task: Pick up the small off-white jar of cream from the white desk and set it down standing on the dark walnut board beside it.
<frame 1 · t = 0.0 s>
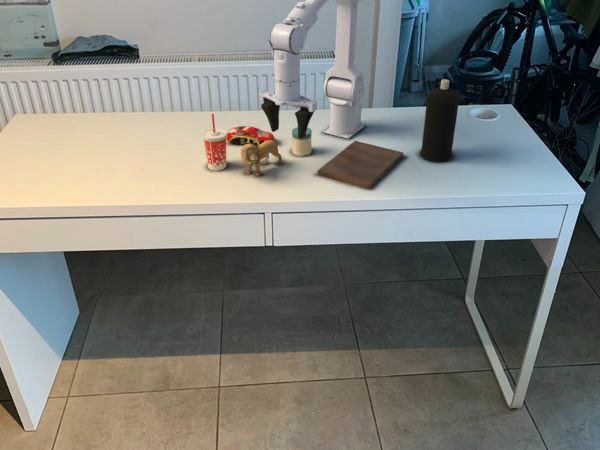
hand: (288, 133, 147), 10 cm above the table, tool pointing down, fingers open, 7 cm apart
aerosol can: (435, 156, 160), on the table
walnut board: (361, 165, 155), on the table
lion figurine: (262, 170, 153), on the table
race car: (250, 142, 167), on the table
beverage cup: (217, 166, 155), on the table
cream jar: (301, 151, 162), on the table
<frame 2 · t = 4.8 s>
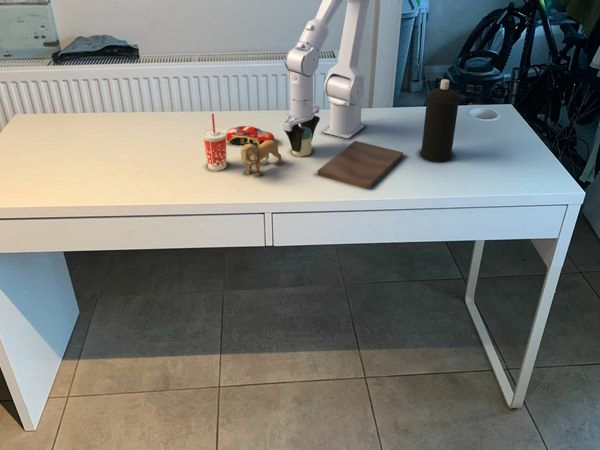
hand: (301, 146, 161), 1 cm above the table, tool pointing down, fingers closed on cream jar, 5 cm apart
cream jar: (301, 151, 162), on the table, touching gripper
everything else where it was.
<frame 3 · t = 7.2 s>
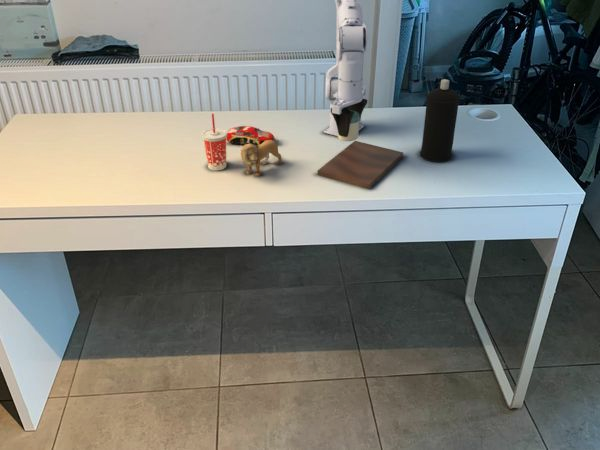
hand: (348, 131, 152), 8 cm above the table, tool pointing down, fingers closed on cream jar, 5 cm apart
cream jar: (347, 136, 153), point 7 cm above the table, touching gripper
everything else where it was.
when the fingers open (3 cm above the table, at t = 10.1 s): cream jar stays where it is, resting on walnut board.
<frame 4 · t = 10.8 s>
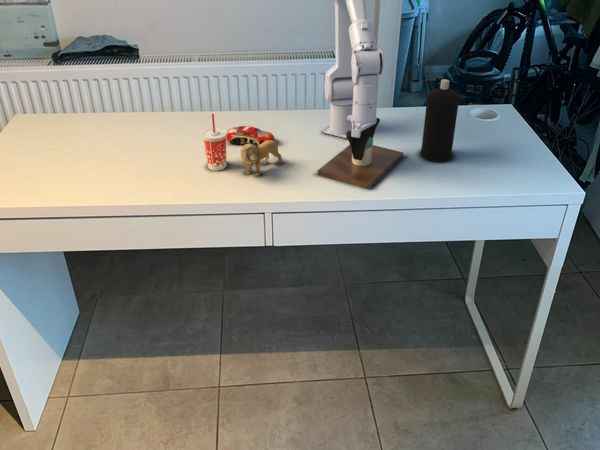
hand: (362, 152, 153), 4 cm above the table, tool pointing down, fingers open, 7 cm apart
cream jar: (361, 161, 154), point 1 cm above the table, touching walnut board
everything else where it was.
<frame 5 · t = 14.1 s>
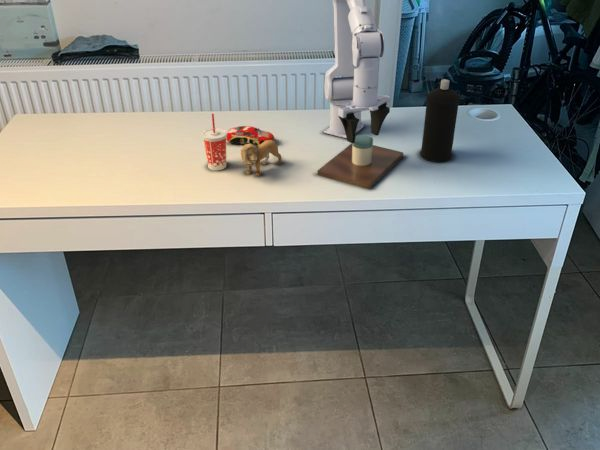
hand: (362, 137, 151), 8 cm above the table, tool pointing down, fingers open, 7 cm apart
nothing on the table moved.
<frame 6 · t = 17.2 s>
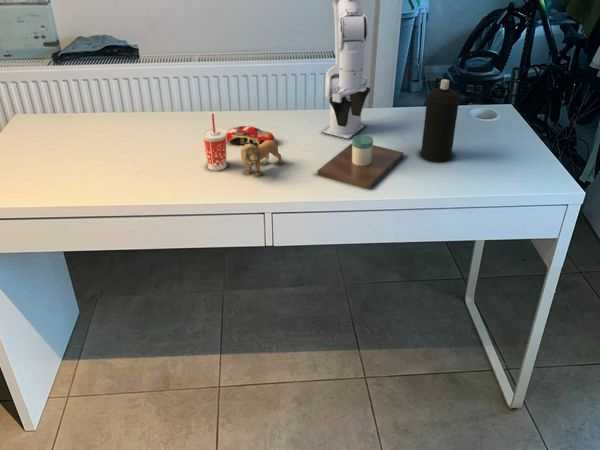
hand: (349, 120, 155), 9 cm above the table, tool pointing down, fingers open, 7 cm apart
nothing on the table moved.
at the end: cream jar inside the target area on the walnut board (0.1 cm from its centre), point 1.2 cm above the walnut board's base; cream jar tilted 0° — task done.
